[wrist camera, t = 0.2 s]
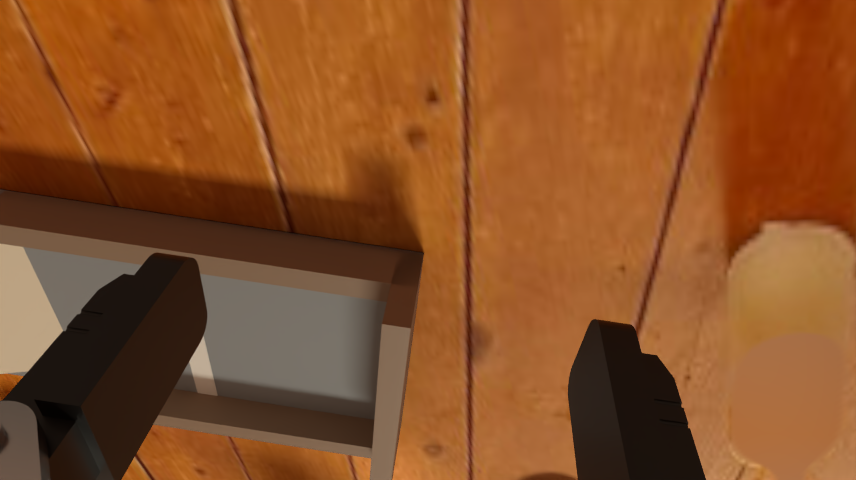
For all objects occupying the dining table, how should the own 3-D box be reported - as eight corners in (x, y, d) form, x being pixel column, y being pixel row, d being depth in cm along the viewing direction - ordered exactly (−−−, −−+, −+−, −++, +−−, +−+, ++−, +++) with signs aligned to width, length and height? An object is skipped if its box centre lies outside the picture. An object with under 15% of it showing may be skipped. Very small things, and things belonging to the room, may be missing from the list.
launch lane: (-100, 341, 46) (-177, 411, 41) (-254, 142, 34) (-392, 206, 29) (401, 418, 46) (388, 500, 40) (425, 243, 34) (410, 328, 28)
